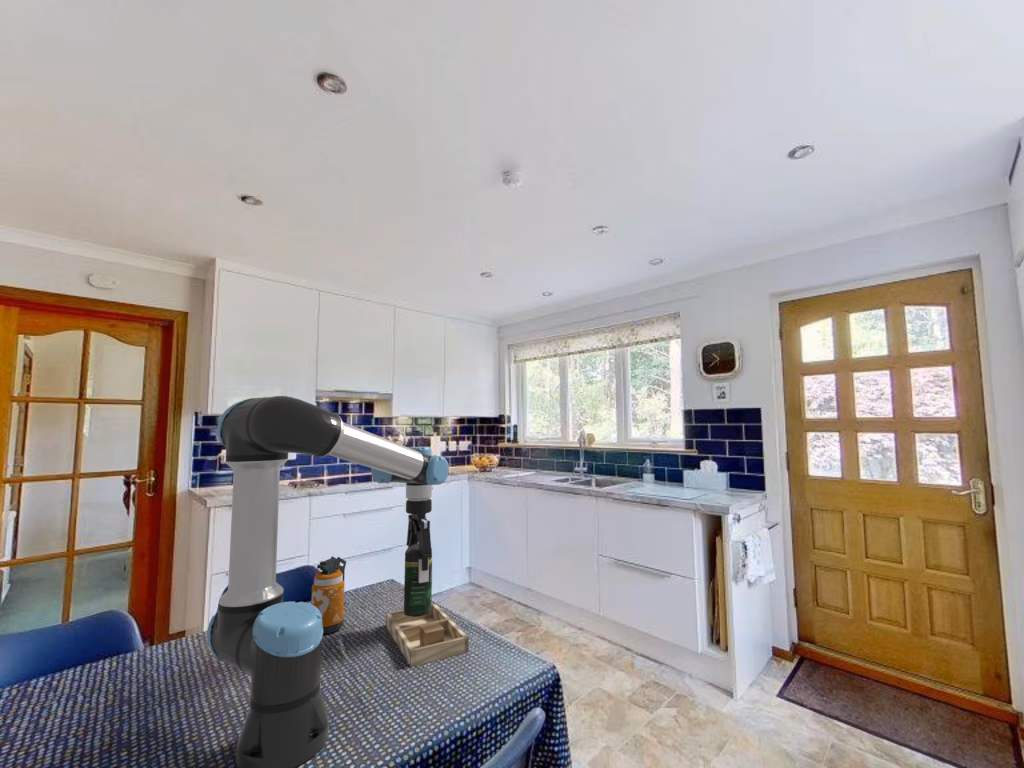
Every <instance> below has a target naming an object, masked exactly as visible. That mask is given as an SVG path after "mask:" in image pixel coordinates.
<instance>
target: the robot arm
mask: <svg viewBox="0 0 1024 768" xmlns="http://www.w3.org/2000/svg"><path fill="white" fill-rule="evenodd" d="M216 429H217V431H216V432H217V437H218V439H219V442H220V443H221V444H222V445H223V446H224V447H225V461H224V463H225V464H226V465H227V466H228V467H229V468H230V469H232V471H233V478H232V479H233V480H232V501H231V503H232V504H231V518H230V519H231V521H230V522H231V523H230V541H229V542H230V543H229V565H228V582H227V583H228V585H227V586H228V588H227V590H226V591H225V592H224V593H223V594H222V595H221V596H220V597H219V599H218V605H217V607H218V608H217V610H216V613H215V614H214V615H212V617H211V619H210V621H209V623H208V626H207V630H206V642H207V646H208V648H209V650H210V651H211V652H212V654H213V655H215V658H217V659H218V660H219V661H220V662H223V663H224V664H225V665H228V666H231V667H233V668H235V669H237V670H239V671H241V672H243V673H245V674H246V675H248V676H249V677H250V680H251V681H250V698H249V700H250V701H249V709H248V713H247V715H246V718H245V721H244V724H243V727H242V729H241V731H240V734H239V737H238V740H237V743H236V750H235V764H237V765H236V767H237V766H238V767H239V768H296V767H298V766H300V765H301V764H305V762H307V761H308V760H310V759H311V758H313V757H314V756H315V755H317V754H318V753H319V752H320V751H321V749H322V748H323V747H324V746H325V744H326V743H327V741H328V738H329V733H330V731H329V727H330V721H329V716H328V713H327V710H326V706H325V704H324V700H323V697H322V694H321V693H322V692H321V677H322V676H321V673H322V672H321V671H322V648H323V647H322V646H323V636H324V634H323V626H322V615H321V613H320V611H319V609H318V608H317V607H315V606H314V605H312V604H311V603H309V602H304V601H299V602H296V601H284V587H283V586H282V585H281V584H279V583H278V582H277V562H278V561H277V557H278V554H277V553H278V533H279V531H278V530H279V505H280V504H279V503H280V476H281V474H280V473H281V467H283V465H285V464H286V463H287V461H289V454H290V453H291V454H304V455H310V456H313V457H318V458H324V457H326V456H330V457H331V456H332V457H335V458H338V459H341V460H343V461H347V462H350V463H353V464H357V465H360V466H362V467H365V468H366V467H367V468H370V469H371V477H372V478H373V480H374V481H375V482H376V483H378V484H390V483H399V484H400V483H402V484H405V498H406V500H405V513H406V514H408V515H407V516H408V522H407V523H408V525H407V536H406V546H407V549H408V548H409V547H410V546H412V545H413V544H418V545H419V553H420V557H418V560H419V583H423V582H428V581H429V557H432V558H433V551H432V552H431V548H432V541H431V529H430V528H431V521H430V520H428V519H427V516H426V514H428V513H431V512H432V509H433V506H432V505H433V504H432V503H433V501H432V499H431V498H432V490H434V486H435V485H436V486H438V485H441V484H444V482H446V481H447V479H448V477H449V472H450V465H449V462H448V461H447V459H446V458H445V457H444V456H440V455H437V454H436V455H435V454H433V453H432V449H431V447H429V446H411V447H410V446H409V447H407V446H406V445H402V444H400V443H397V442H396V441H393V440H390V439H388V438H384V437H382V436H379V435H377V434H375V433H372V432H369V431H367V430H365V429H361V428H359V427H357V426H355V425H352V424H349V423H347V422H344V421H343V420H342V418H341V416H340V415H338V414H336V413H334V412H333V411H329V410H326V409H324V408H323V407H320V406H317V405H314V404H312V403H311V402H307V401H305V400H301V399H300V398H296V397H292V396H287V395H275V396H267V397H256V398H255V397H253V398H252V397H251V398H248V399H247V398H246V399H244V400H243V399H242V400H240V401H237V402H235V403H233V404H232V405H230V406H229V407H228V408H226V409H225V410H224V411H223V413H222V414H221V416H220V418H219V420H218V422H217V428H216ZM238 767H237V768H238Z"/></svg>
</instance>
